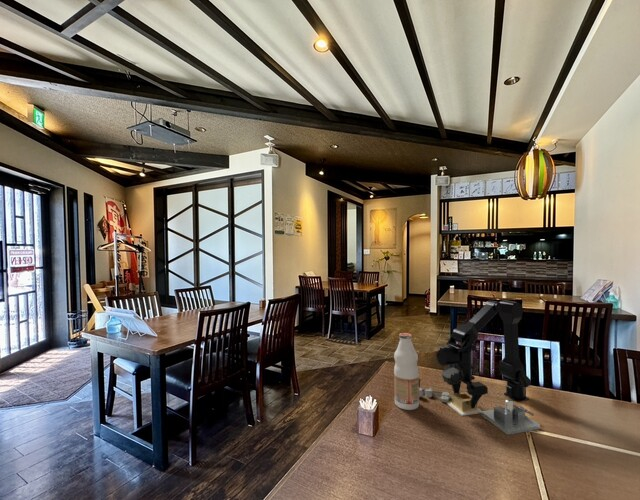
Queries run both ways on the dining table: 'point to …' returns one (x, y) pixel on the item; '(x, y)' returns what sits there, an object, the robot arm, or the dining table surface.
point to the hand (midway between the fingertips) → (464, 402)
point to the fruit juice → (406, 374)
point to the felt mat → (464, 412)
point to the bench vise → (510, 418)
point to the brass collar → (462, 401)
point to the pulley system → (430, 393)
